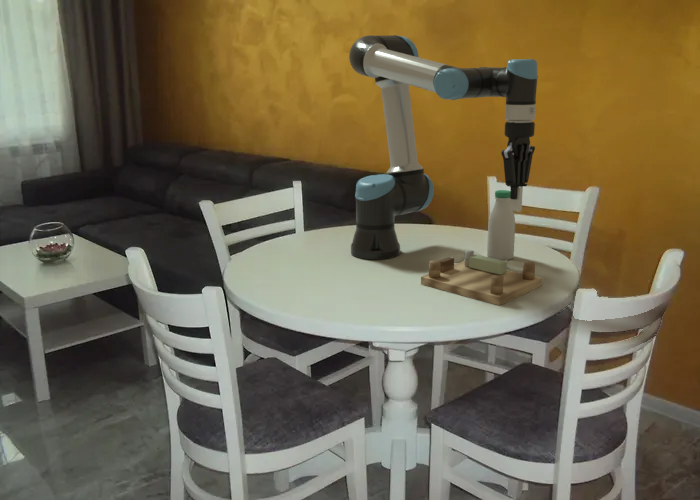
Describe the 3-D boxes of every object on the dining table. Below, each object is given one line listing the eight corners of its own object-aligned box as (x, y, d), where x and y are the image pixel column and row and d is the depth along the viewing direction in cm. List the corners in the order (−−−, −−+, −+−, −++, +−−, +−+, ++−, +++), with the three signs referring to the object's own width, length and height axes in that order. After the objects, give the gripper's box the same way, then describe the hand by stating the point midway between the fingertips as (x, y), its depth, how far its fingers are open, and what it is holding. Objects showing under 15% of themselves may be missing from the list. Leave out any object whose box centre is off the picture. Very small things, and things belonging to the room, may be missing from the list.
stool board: (420, 284, 177) (421, 262, 176) (465, 267, 191) (465, 246, 189) (499, 305, 161) (500, 281, 159) (541, 285, 175) (543, 263, 173)
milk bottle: (513, 261, 196) (517, 194, 190) (486, 260, 197) (489, 193, 192) (513, 254, 203) (516, 189, 197) (487, 253, 204) (489, 188, 199)
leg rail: (462, 266, 185) (462, 252, 184) (468, 263, 187) (468, 249, 186) (500, 275, 177) (501, 260, 175) (506, 272, 179) (507, 258, 177)
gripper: (519, 123, 166) (514, 216, 173) (545, 119, 175) (540, 208, 182) (493, 122, 171) (489, 212, 178) (520, 118, 180) (516, 205, 187)
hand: (515, 210), depth 180 cm, fingers closed
